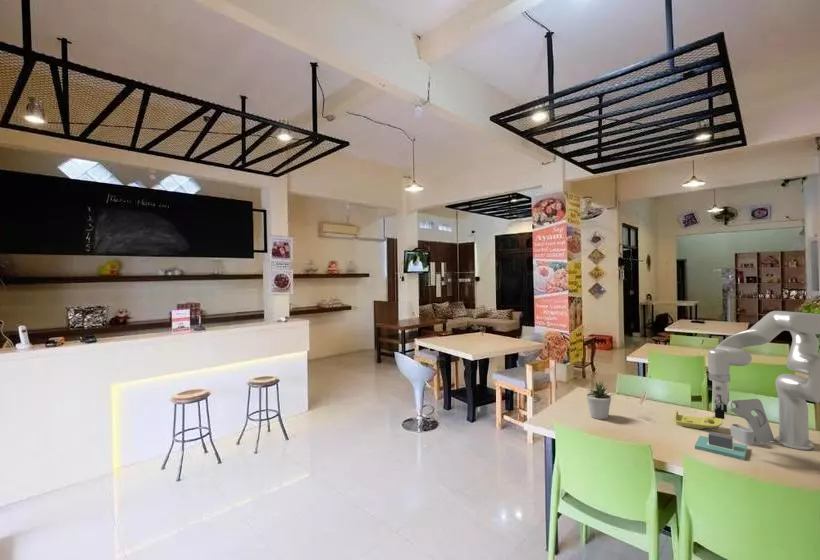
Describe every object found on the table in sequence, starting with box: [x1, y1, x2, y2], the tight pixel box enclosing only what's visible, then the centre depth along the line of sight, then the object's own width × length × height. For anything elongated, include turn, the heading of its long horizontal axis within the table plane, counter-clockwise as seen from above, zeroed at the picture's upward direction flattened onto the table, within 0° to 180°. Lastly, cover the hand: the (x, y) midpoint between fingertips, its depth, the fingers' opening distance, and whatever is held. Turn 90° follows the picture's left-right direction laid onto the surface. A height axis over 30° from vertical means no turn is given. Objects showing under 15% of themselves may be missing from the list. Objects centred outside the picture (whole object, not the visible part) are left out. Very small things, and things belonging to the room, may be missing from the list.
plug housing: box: [708, 431, 734, 449], centre depth 174 cm, size 4×8×4 cm, turn 46°
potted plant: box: [585, 379, 614, 420], centre depth 216 cm, size 13×14×20 cm
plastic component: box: [674, 410, 724, 431], centre depth 199 cm, size 20×7×10 cm
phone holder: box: [727, 398, 779, 447], centre depth 181 cm, size 17×10×18 cm, turn 96°
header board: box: [694, 435, 748, 461], centre depth 174 cm, size 14×17×4 cm
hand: (721, 414), depth 174 cm, fingers open, 9 cm apart
